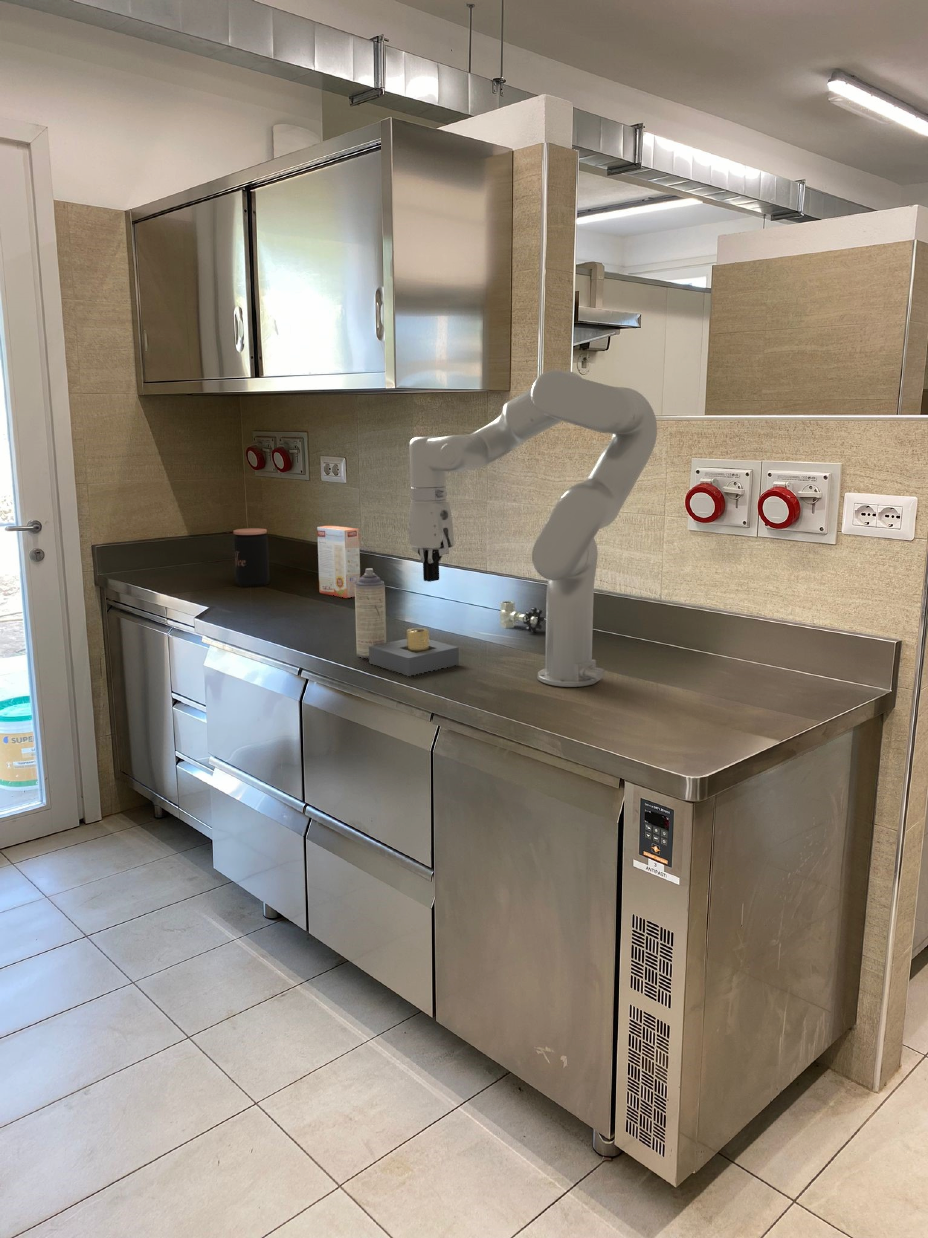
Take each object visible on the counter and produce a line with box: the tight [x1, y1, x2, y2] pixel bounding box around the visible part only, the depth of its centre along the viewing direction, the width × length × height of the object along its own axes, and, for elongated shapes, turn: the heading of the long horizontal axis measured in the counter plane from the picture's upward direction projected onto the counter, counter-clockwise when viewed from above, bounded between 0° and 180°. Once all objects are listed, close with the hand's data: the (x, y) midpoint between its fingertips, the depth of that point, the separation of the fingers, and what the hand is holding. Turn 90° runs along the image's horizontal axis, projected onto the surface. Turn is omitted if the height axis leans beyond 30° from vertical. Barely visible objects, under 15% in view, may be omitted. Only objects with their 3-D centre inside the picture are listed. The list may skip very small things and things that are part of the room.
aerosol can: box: [354, 567, 387, 659], centre depth 209 cm, size 7×7×20 cm
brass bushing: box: [406, 627, 430, 653], centre depth 201 cm, size 5×5×8 cm
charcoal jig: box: [368, 638, 460, 677], centre depth 203 cm, size 14×14×4 cm
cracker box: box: [316, 525, 361, 599], centre depth 282 cm, size 14×6×21 cm, turn 44°
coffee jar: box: [232, 527, 270, 588], centre depth 300 cm, size 11×11×18 cm
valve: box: [499, 600, 545, 634], centre depth 236 cm, size 7×7×12 cm
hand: (431, 580), depth 200 cm, fingers closed
